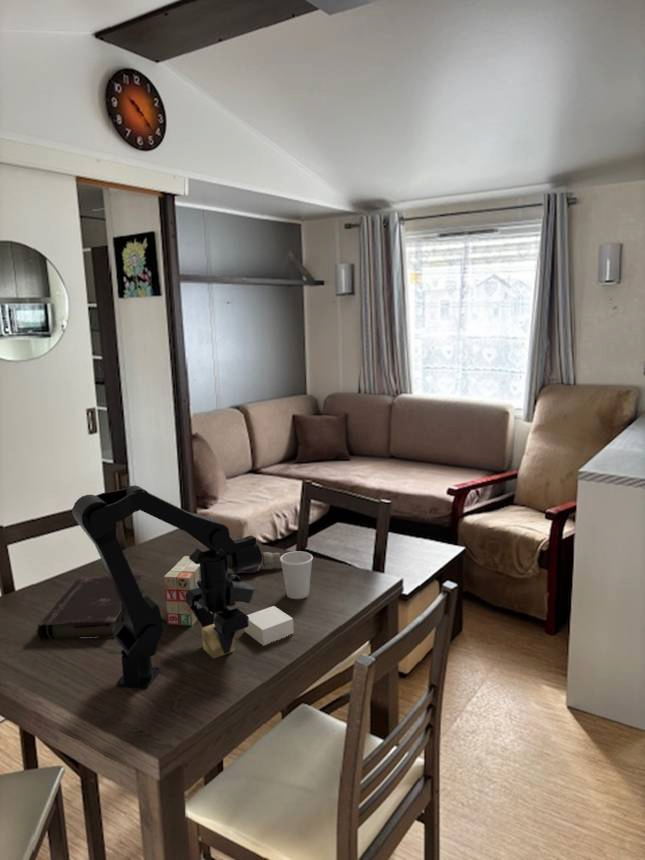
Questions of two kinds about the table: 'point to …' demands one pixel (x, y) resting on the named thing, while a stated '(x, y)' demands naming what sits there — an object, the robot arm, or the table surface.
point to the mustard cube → (213, 642)
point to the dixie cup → (297, 573)
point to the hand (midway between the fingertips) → (218, 645)
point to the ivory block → (269, 625)
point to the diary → (86, 610)
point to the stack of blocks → (181, 591)
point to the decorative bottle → (266, 560)
